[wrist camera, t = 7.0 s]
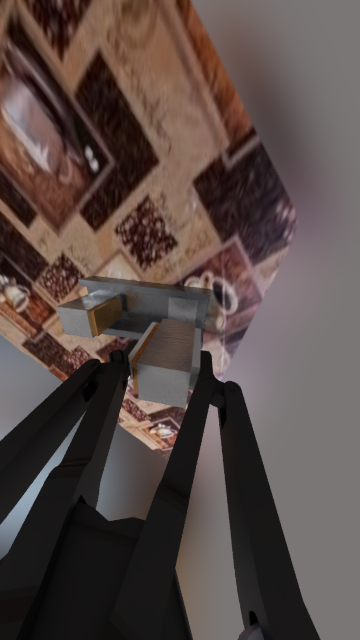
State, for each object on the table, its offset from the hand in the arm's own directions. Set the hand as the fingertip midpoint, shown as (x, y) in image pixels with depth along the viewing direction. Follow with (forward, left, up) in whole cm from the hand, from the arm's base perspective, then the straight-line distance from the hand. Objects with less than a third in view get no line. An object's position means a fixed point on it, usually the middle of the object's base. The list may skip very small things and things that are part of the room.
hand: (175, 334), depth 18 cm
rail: (0, -7, -9) cm, 11 cm away
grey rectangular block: (0, 0, 0) cm, 0 cm away
